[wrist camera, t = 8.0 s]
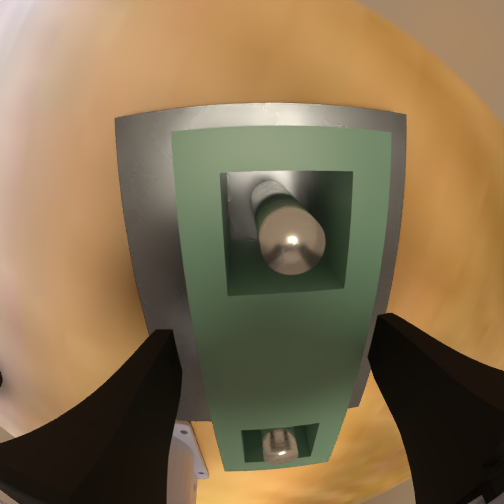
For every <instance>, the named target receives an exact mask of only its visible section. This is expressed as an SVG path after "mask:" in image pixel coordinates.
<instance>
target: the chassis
mask: <svg viewBox="0 0 504 504" xmlns="http://www.w3.org/2000/svg"><path fill="white" fill-rule="evenodd" d="M264 125H292V126H324V127H341V128H354V129H366V130H376V131H385V132H391V169H390V187H389V201H388V213H387V223H386V232H385V240H384V248H383V255H382V262H381V269H380V275H379V281H378V287H377V293H376V298H375V303H374V308H373V313H372V318H371V323H370V327H369V332H368V336H367V341H366V345H365V349H364V353H363V357H362V361H361V364H360V368H359V372H358V375H357V379H356V382H355V386H354V389H353V393H352V396H351V399H350V402H349V405H348V408H353V407H358V406H359V404H360V401H361V398H362V395H363V392H364V389H365V386H366V383H367V380H368V376H369V373H370V370H371V367H370V364H369V361H368V358H367V356H368V352H369V349H370V345H371V341H372V337H373V332H374V328H375V324H376V319H377V315H379V314H385V313H386V309H387V304H388V299H389V295H390V290H391V285H392V279H393V274H394V268H395V262H396V256H397V249H398V242H399V235H400V227H401V218H402V209H403V198H404V185H405V168H406V114H401V113H395V112H388V111H381V110H374V109H366V108H357V107H347V106H336V105H322V104H302V103H240V104H220V105H206V106H195V107H185V108H176V109H168V110H160V111H153V112H146V113H140V114H134V115H129V116H123V117H118V118H115V135H116V149H117V161H118V172H119V181H120V190H121V198H122V205H123V213H124V219H125V226H126V232H127V238H128V244H129V249H130V255H131V260H132V265H133V270H134V275H135V279H136V284H137V289H138V293H139V297H140V302H141V306H142V310H143V314H144V318H145V322H146V325H147V329H148V333H149V336H150V335H151V334H152V333H153V332H154V331H155V330H156V329H173V333H174V338H175V342H176V347H177V351H178V355H179V359H180V363H181V367H182V371H183V373H182V386H181V397H180V402H179V407H178V411H177V416H176V419H177V421H212V419H211V415H210V411H209V406H208V402H207V397H206V393H205V388H204V383H203V378H202V374H201V369H200V364H199V358H198V353H197V348H196V342H195V337H194V331H193V325H192V319H191V313H190V307H189V301H188V294H187V288H186V281H185V274H184V266H183V259H182V251H181V243H180V234H179V225H178V216H177V206H176V195H175V184H174V172H173V158H172V142H171V131H180V130H190V129H201V128H215V127H232V126H264ZM226 174H227V194H228V212H229V230H230V241H249V240H259V243H260V248H261V252H262V256H263V258H264V260H265V262H266V263H267V264H268V266H269V267H271V268H272V269H273V270H275V271H277V272H279V273H281V274H286V275H296V274H301V273H304V272H306V271H308V270H310V269H311V268H312V267H314V266H315V265H316V264H317V263H318V262H319V260H320V259H321V257H322V255H323V253H324V249H325V234H324V231H323V229H322V227H321V226H320V224H319V223H318V222H317V221H316V220H315V219H314V218H313V217H312V215H311V214H310V209H311V171H253V172H230V173H226ZM261 435H262V446H263V456H264V461H265V462H267V463H270V464H283V463H288V462H291V461H293V460H295V459H296V458H297V457H298V449H297V444H296V438H295V433H294V428H293V426H292V427H282V428H271V429H261Z"/></svg>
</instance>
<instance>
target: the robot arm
mask: <svg viewBox="0 0 504 504" xmlns="http://www.w3.org/2000/svg"><path fill="white" fill-rule="evenodd" d="M367 358H368V361H369V364H370V367H371V370H372V373H373V376H374V379H375V381H376V383H377V385H378V387H379V389H380V391H381V393H382V395H383V397H384V399H385V401H386V403H387V405H388V407H389V410H390V412H391V414H392V416H393V418H394V420H395V422H396V424H397V427H398V429H399V431H400V434H401V437H402V441H403V444H404V447H405V450H406V454H407V458H408V462H409V466H410V470H411V475H412V480H413V485H414V491H415V500H416V504H504V371H502V370H499V369H496V368H493V367H490V366H488V365H485V364H483V363H480V362H478V361H476V360H474V359H471V358H469V357H467V356H465V355H463V354H461V353H459V352H457V351H456V350H454V349H452V348H450V347H448V346H446V345H445V344H443V343H441V342H440V341H438V340H436V339H435V338H433V337H431V336H430V335H428V334H427V333H425V332H423V331H422V330H420V329H419V328H417V327H415V326H414V325H412V324H411V323H409V322H407V321H406V320H404V319H402V318H401V317H399V316H397V315H395V314H393V313H386V314H379V315H377V319H376V324H375V328H374V332H373V337H372V341H371V345H370V349H369V352H368V356H367ZM182 373H183V371H182V367H181V363H180V359H179V355H178V351H177V347H176V342H175V338H174V333H173V329H156V330H155V331H154V332H153V333H152V334H151V335H150V336H149V337H148V338H147V339H146V340H145V341H144V343H143V344H142V345H141V346H140V347H139V348H138V349H137V350H136V351H135V353H134V354H133V355H132V356H131V357H130V358H129V359H128V360H127V361H126V362H125V363H124V364H123V365H122V366H121V367H120V369H118V370H117V371H116V372H115V373H114V374H113V375H112V376H111V377H110V378H109V379H108V380H107V381H106V382H105V383H104V384H103V385H102V386H101V387H99V388H98V389H97V390H96V391H95V392H94V393H92V394H91V395H90V396H88V397H87V398H86V399H85V400H83V401H82V402H81V403H79V404H78V405H77V406H75V407H73V408H72V409H70V410H69V411H67V412H66V413H64V414H63V415H61V416H60V417H58V418H57V419H55V420H53V421H51V422H49V423H48V424H46V425H44V426H42V427H40V428H38V429H36V430H34V431H32V432H29V433H27V434H25V435H22V436H20V437H17V438H14V439H12V440H9V441H6V442H3V443H0V490H2V491H3V492H4V493H6V494H7V495H8V496H10V497H11V498H12V499H13V500H15V501H16V502H18V503H19V504H196V494H197V479H208V478H209V473H208V471H207V468H206V466H205V463H204V461H203V458H202V455H201V453H200V450H199V447H198V444H197V442H196V439H195V436H194V433H193V430H192V427H191V424H190V423H189V422H187V421H177V420H176V416H177V411H178V407H179V402H180V397H181V386H182ZM0 504H7V503H5V502H3V501H1V500H0Z"/></svg>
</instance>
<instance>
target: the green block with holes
mask: <svg viewBox="0 0 504 504" xmlns="http://www.w3.org/2000/svg"><path fill="white" fill-rule="evenodd" d="M171 142H172V158H173V172H174V184H175V195H176V206H177V216H178V225H179V234H180V243H181V251H182V259H183V266H184V274H185V281H186V288H187V294H188V301H189V307H190V313H191V319H192V325H193V331H194V337H195V342H196V348H197V353H198V358H199V364H200V369H201V374H202V378H203V383H204V388H205V393H206V397H207V402H208V406H209V411H210V415H211V419H212V424H213V428H214V432H215V436H216V440H217V444H218V448H219V452H220V455H221V459H222V463H223V466H224V470H225V471H252V470H268V469H279V468H288V467H297V466H304V465H311V464H317V463H323V462H328V461H329V458H330V456H331V453H332V451H333V448H334V446H335V443H336V440H337V438H338V435H339V432H340V429H341V426H342V423H343V421H344V418H345V415H346V412H347V409H348V405H349V402H350V399H351V396H352V393H353V389H354V386H355V382H356V379H357V375H358V372H359V368H360V364H361V361H362V357H363V353H364V349H365V345H366V341H367V336H368V332H369V327H370V323H371V318H372V313H373V308H374V303H375V298H376V293H377V287H378V281H379V275H380V269H381V262H382V255H383V248H384V240H385V232H386V223H387V213H388V201H389V187H390V169H391V132H385V131H376V130H366V129H354V128H341V127H324V126H292V125H264V126H232V127H215V128H201V129H190V130H180V131H171ZM253 171H311V209H310V214H311V215H312V217H313V218H314V219H315V220H316V221H317V222H318V223H319V224H320V226H321V227H322V229H323V231H324V234H325V249H324V253H323V255H322V257H321V259H320V260H319V262H318V263H317V264H316V265H315V266H314V267H312V268H311V269H310V270H308V271H306V272H304V273H301V274H296V275H286V274H281V273H279V272H277V271H275V270H273V269H272V268H271V267H269V266H268V264H267V263H266V262H265V260H264V258H263V256H262V252H261V248H260V243H259V240H249V241H230V230H229V212H228V194H227V174H226V173H230V172H253ZM292 426H293V428H294V433H295V438H296V444H297V449H298V457H297V458H296V459H295V460H293V461H291V462H288V463H283V464H270V463H267V462H265V461H264V456H263V446H262V435H261V429H271V428H282V427H292Z"/></svg>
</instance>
